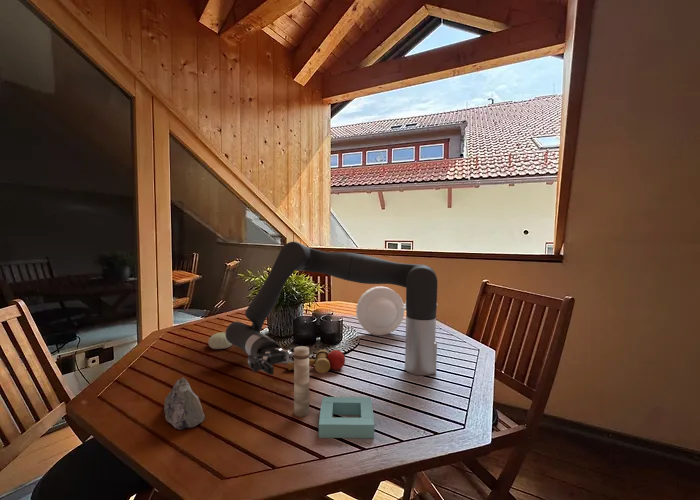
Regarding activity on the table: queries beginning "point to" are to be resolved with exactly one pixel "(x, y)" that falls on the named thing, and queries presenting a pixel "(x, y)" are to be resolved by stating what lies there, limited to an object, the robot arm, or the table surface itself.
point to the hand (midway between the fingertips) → (287, 366)
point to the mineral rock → (183, 406)
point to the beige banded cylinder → (301, 381)
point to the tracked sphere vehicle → (380, 310)
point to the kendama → (325, 361)
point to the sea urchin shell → (219, 341)
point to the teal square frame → (346, 426)
